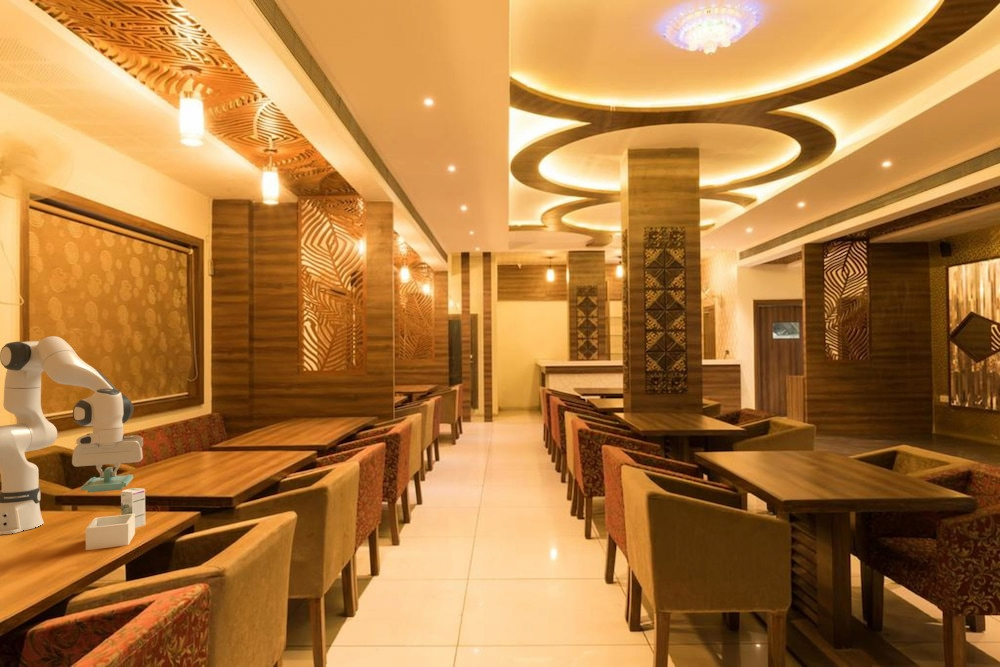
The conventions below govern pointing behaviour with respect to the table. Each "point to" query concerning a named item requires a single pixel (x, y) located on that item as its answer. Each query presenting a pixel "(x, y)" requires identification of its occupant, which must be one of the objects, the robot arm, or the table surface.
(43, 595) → the table surface
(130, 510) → the syrup box
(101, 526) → the tub
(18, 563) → the table surface
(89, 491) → the lid
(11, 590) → the table surface
